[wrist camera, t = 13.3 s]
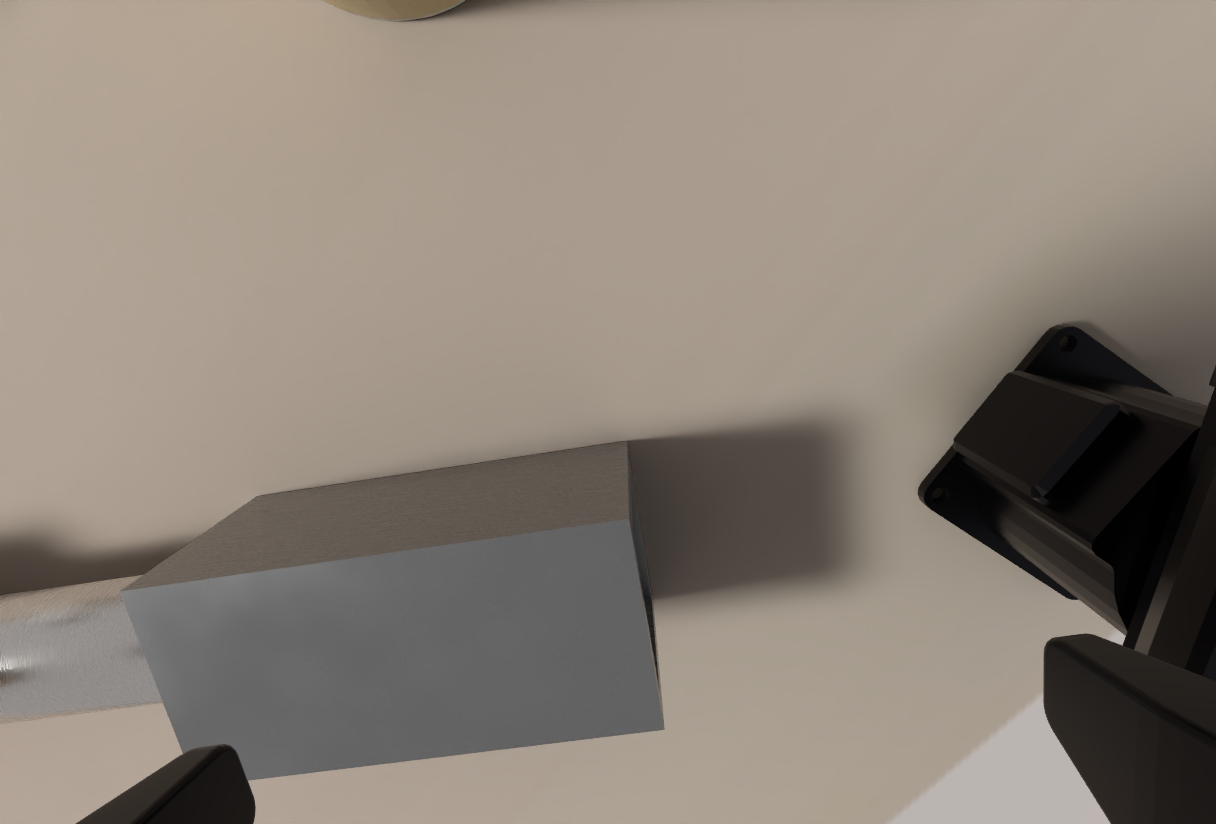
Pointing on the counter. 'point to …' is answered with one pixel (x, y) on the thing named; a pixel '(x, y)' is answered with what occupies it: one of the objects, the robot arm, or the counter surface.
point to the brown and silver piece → (70, 653)
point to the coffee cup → (395, 8)
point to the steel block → (410, 617)
